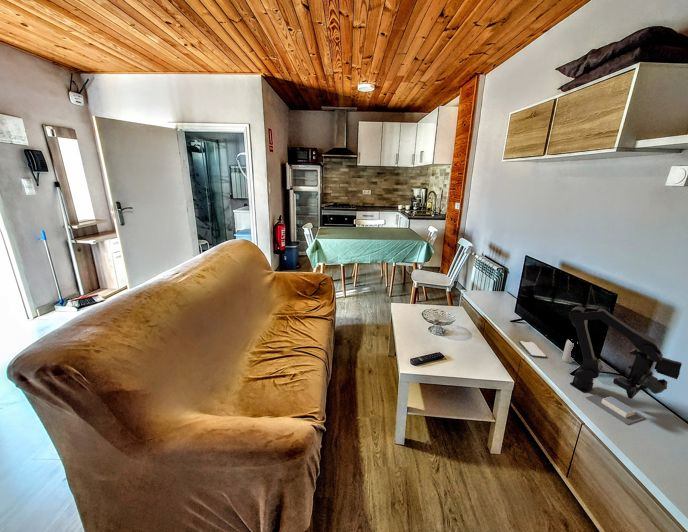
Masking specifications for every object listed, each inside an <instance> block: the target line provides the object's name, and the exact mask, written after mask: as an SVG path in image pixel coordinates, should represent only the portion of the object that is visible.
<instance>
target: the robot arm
mask: <svg viewBox="0 0 688 532" xmlns="http://www.w3.org/2000/svg"><path fill="white" fill-rule="evenodd" d="M568 317H569V319H570V321H571V323H572V325H573V326H574V327H575V330H576V334H577V338H578V344H579V346H580V350H581V355H582V365H580V366H579V368H578V369H576V372H574V377H573V378H572V382H570V383H569V384H570V386H572V387H574V388H576V389H577V390H579V391H580V392H582V393H587V392H590V391H591V392H592V391H593V389H594V388H593V386H594V380H595V379H597V378H599V376H600V374H601V372H602V370H603V369H604V367H603V365H602V359H601V358H599V359H597V357H596V356H595V352H594V349H593V345H592V341H591V336H590V333H589V328H588V321H592V320H593V321H594V320H600V321H602V322H603V323H605V324H607V325H608V326H609V327H610V328H612V329H613V330H615V331H616V332H618V333H620V335H622V336H623V337H625V338H626V339H627V340H628V341H629V342H630V343H631V344H632V345H633V346H634V347H635V348H632V349H630V351H629V354H631V355H633V356H634V357H633V360H632V363H631V364H630V365H628V367H627V368H628V369H629V371H628V373H625V375H624V376H625V377H626V378H625V377H623V376H619V377H615V378H613V382H612V383H613V384H614V385H616V386H617V387H619V388H621V389H623V390H625V392H626V395H627V398H628V399H630V400H632V399H633V398H635V396H637V394H638V393H639V392H640V391H642V390H646V389H648V390H649V391H650V392H651V393H653V394H654V395H657V394H660V393H662V392H664V391H665V390H667V389H668V383H669V382H668V381H667V380H666V379H665V378H662V379H661V378H660V379H658V378H657V377H655V376H654V373H653V371H652V367H653V365H654V368H653V369H654V370H655V372H656V373H657V374H660V375H663V376H666V377H668V378H671V379H674V380H678V378H679V376H680V374H681V373H680V372H681V368H682V365H683V363H682V362H680V361H679V360H678V361H676V360H672V359H671V358H666V357H664V356H663V353H662V352H661V350H660V343H659V342H658V340H657V339H655V338H653V337H651V336H650V335H647V334H645V333H642V332H640V331H637V330H636V329H634V328H632V327H631V326H629V325H628V324H627V323H625V322H624V321H622V320H621V319H619V318H618V317H616V316H614V315H613V314H611V312H609V311H608V310H607V309H605V308H592V307H583V306H579V305H578V306H575V307H574V308H572V309H571V310H570V311H569V313H568ZM654 362H655V364H654Z"/></svg>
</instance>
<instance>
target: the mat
mask: <svg viewBox="0 0 688 532" xmlns="http://www.w3.org/2000/svg"><path fill="white" fill-rule="evenodd" d="M607 397H611V396H610V395H608V394H607V393H605V392H600V393H597V394H593V395H589V396H586V397H585V399H587V401H589V402H590V403H593V404H594V405H596V406H597V407H599V408H600V409H602V410H603V411H605V412H606V413H608V414H610V415H612V416H613V417H614V418H616V419H618V420H619V421H620V422H623V424H625V425H631V424H634V423H637V422H640V421H643V420H645V419H647V417H645V416H644V415H642V414H641V413H639V412H637V411H636V412H635V415H632V416H629V417H626V418H625V417H623V416H622V415H620V414H618V413H617V412H615V411H614V410H612V409H610V408H609V407H607V406H606V405H604V404H602V403H601V402H602V399H604V398H607Z"/></svg>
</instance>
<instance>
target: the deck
mask: <svg viewBox="0 0 688 532" xmlns="http://www.w3.org/2000/svg"><path fill="white" fill-rule="evenodd" d="M601 403H602V404H604V405H606V406H607V407H609V408H610V409H612V410H614V411H615V412H617V413H618V414H620V415H622V416H623V417H625V418H626V417H629V416H632V415H635V412H637V410H636V409H633V408H632V407H631V406H629V405H627V404H625V403H623V402H622V401H620V400H618V399H617V398H615V397H613V396H610V397H607V398H604V399H602V402H601Z"/></svg>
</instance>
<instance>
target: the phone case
mask: <svg viewBox="0 0 688 532" xmlns="http://www.w3.org/2000/svg"><path fill="white" fill-rule="evenodd" d="M518 344H519V346H521V347H522V349H524V351H525V352H526V353H527V354H528V355H529V357H532V358H539V359H547V357H548V356H547V354H546V353H544V352H543V350H541V348H539V346H537V343H535V342H533V341H527V340H519V341H518Z"/></svg>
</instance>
